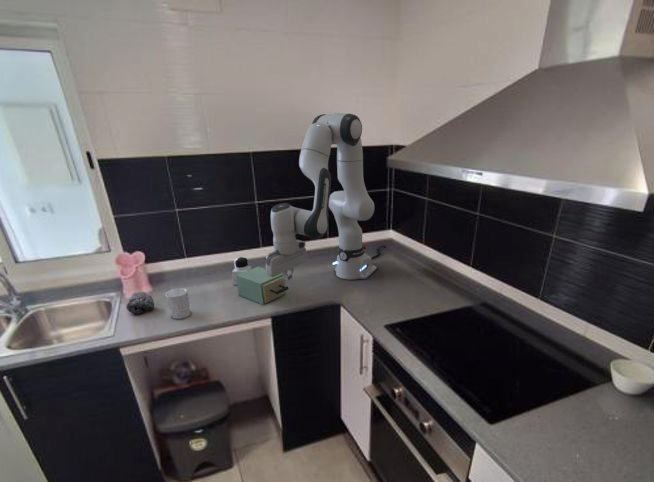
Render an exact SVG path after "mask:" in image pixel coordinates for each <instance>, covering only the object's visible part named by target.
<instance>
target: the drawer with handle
mask: <svg viewBox="0 0 654 482" xmlns="http://www.w3.org/2000/svg"><path fill="white" fill-rule="evenodd" d="M285 285H286V283H285V278H284V276H283V277H280V278H277V279H275V280H272V281H270V282H268V283H266V284H264V285H262V288H263V296H264V302H265V303H266V304H268V303H269V301H270V302H272V301H274V300H276V299H278V298H280V297H282V296H284V295H285V294H286V291H288V290H289V286H288V285H286V286H285ZM283 294H284V295H283ZM281 295H282V296H281ZM279 296H280V297H279ZM277 297H278V298H277ZM275 298H276V299H275ZM273 299H274V300H273ZM271 300H272V301H271ZM267 302H268V303H267Z"/></svg>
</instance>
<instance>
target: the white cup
mask: <svg viewBox="0 0 654 482" xmlns="http://www.w3.org/2000/svg"><path fill="white" fill-rule="evenodd" d="M165 297H166V301H167V304H168V307H169V310H170V312H171V315H172V318H174V319H176V320H179V319H180V320H181V319H185V318H187V317H189V316H191V308H190V307H191V306H190V300H189V299H190V298H189V294H188V290H187V289H186V288H183V287H179V288H178V287H177V288H172V289H170V290H168V291H166V292H165Z"/></svg>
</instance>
